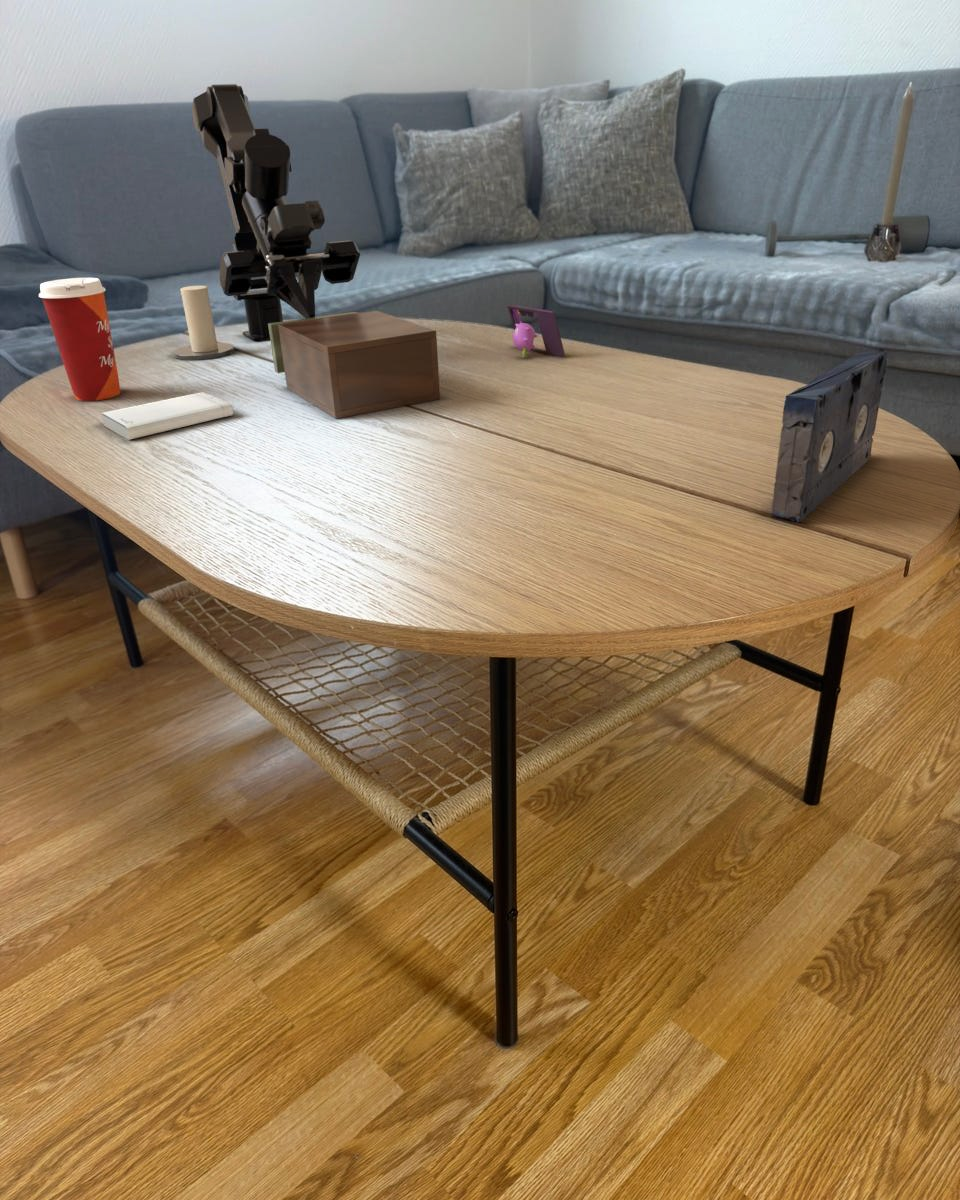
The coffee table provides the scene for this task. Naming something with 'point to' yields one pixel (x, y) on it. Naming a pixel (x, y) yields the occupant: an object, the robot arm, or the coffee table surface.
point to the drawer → (277, 344)
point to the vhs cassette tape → (827, 433)
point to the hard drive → (166, 415)
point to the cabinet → (360, 362)
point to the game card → (526, 334)
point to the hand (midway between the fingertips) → (312, 318)
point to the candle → (199, 318)
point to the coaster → (188, 354)
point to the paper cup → (83, 336)
